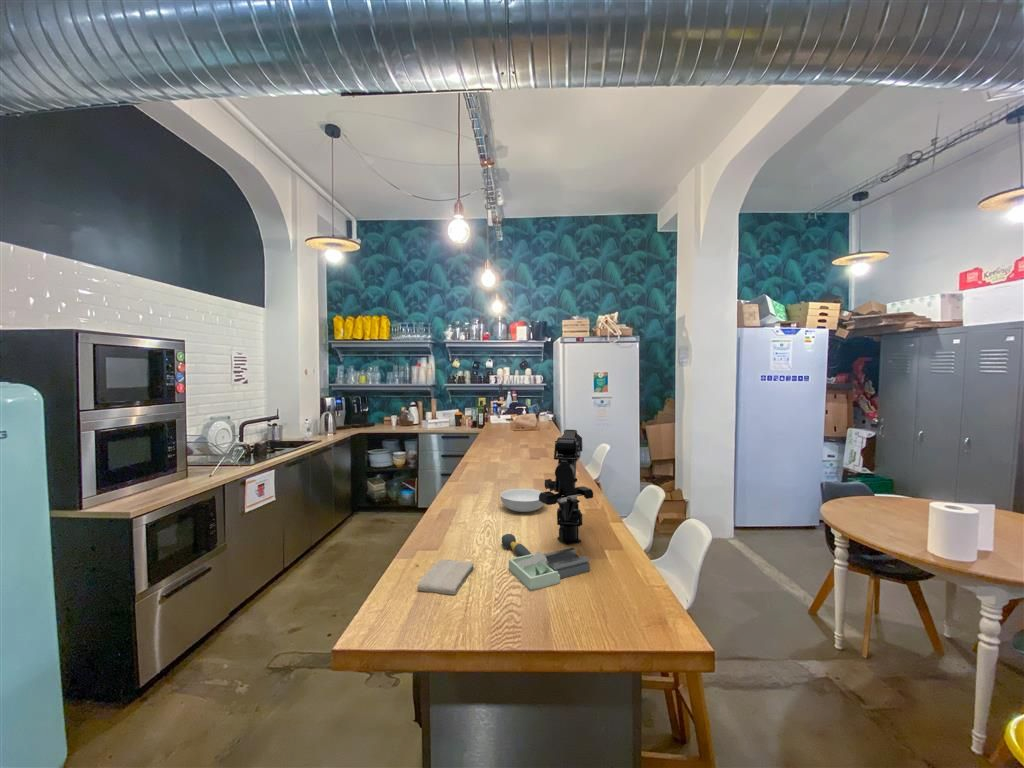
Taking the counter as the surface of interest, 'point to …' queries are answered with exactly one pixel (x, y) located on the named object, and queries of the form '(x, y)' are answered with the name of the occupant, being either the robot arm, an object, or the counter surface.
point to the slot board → (567, 562)
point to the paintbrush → (514, 545)
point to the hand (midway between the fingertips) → (566, 520)
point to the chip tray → (537, 581)
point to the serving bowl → (521, 499)
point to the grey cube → (540, 562)
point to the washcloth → (445, 577)
